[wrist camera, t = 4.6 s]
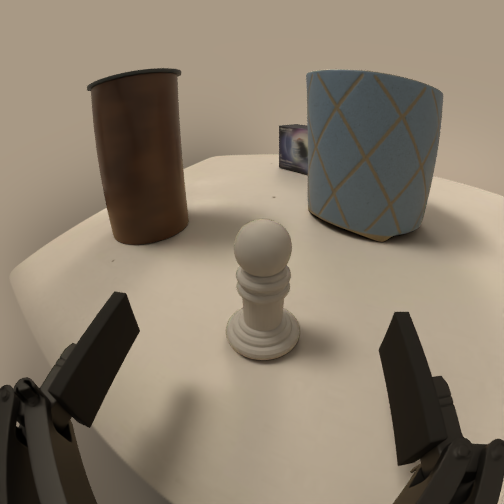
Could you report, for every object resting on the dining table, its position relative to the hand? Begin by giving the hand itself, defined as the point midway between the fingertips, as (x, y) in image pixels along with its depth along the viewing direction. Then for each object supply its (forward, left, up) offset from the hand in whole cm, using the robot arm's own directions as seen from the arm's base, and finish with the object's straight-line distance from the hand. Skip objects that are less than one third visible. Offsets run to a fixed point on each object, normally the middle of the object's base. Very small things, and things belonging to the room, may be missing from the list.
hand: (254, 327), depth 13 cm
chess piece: (+1, +5, -6) cm, 8 cm away
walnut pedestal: (-10, +27, -6) cm, 29 cm away
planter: (+21, +24, -6) cm, 33 cm away
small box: (+21, +51, -6) cm, 55 cm away
